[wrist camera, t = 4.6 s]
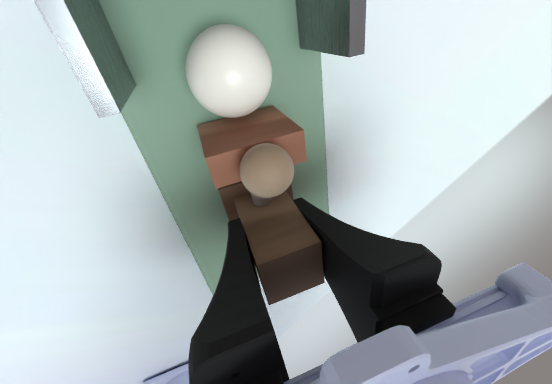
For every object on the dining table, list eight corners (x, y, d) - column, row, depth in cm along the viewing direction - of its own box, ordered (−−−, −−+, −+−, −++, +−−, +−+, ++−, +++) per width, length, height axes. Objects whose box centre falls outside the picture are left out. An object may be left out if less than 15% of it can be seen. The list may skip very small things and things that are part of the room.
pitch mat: (327, 246, 22) (330, 250, 22) (212, 290, 20) (213, 295, 20) (309, -54, 11) (314, -57, 11) (60, -16, 10) (55, -17, 9)
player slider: (290, 215, 18) (336, 287, 13) (234, 235, 17) (259, 319, 12) (272, 99, 13) (330, 142, 8) (194, 119, 13) (209, 179, 8)
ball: (292, 91, 10) (263, -7, 9) (197, 115, 9) (163, 11, 9) (273, 115, 13) (252, 44, 13) (204, 133, 12) (180, 60, 12)
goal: (306, 45, 13) (364, 53, 9) (124, 86, 12) (99, 117, 8) (297, -71, 11) (370, -127, 7) (65, -39, 9) (-16, -87, 5)
